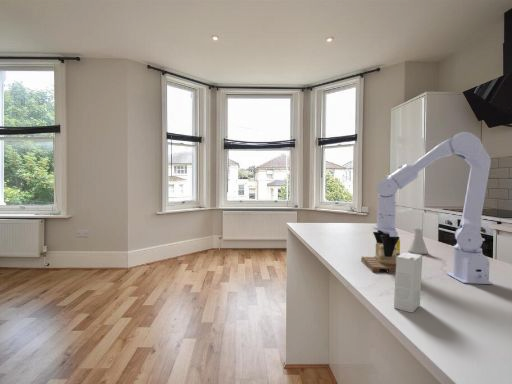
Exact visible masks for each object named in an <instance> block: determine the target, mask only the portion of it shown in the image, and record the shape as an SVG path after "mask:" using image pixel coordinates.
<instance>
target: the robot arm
mask: <svg viewBox="0 0 512 384" xmlns="http://www.w3.org/2000/svg"><path fill="white" fill-rule="evenodd" d="M452 155H454V156H457V157H458V158H461V159H463V161H464V162H465V163H467V164H468V165H469V166H470V168H469V174H468V180H467V184H466V185H467V188H466V193H465V198H464V204H463V210H462V216H461V219H460V223H459V226H458V228H456V230H455V232H454V239H455V240H456V244H454V245H453V255H452V256H453V257H452V272H451V271H447V272H446V275H448V276H450V277H452V278H454V279H456V281H457V280H458V281H459V282H461V283H463V284H483V285H493V282H492V281H490V260H489V258H488V257H487V256H486V255H484V254H483V248H482V245H483V242H484V239H483V237H482V234H481V230H482V221H481V220H482V216H483V209H484V204H485V203H484V202H485V198H486V193H487V186H488V182H489V181H488V180H489V174H490V169H491V163H492V159H491V157H490V156H489V154H488V152H487V150H486V149H485V147H484V145H483V143H482V140H481V139H480V138H479V137H477V136H476V135H475V134H473V133H471V132H469V131H461V132H458V133H456V134H455V135H454V136H453V137H450V138H448V139H446V140H444V141H443V142H440V143H439V144H438V145H436V146H435V147H434V148H432V149H431V150H430V151H428V152H427V153H426V154H425V155H423V156H422V157H420V158H418V160H416V161H415V162H413V163H412V164H407V163H405V164H404V165H399V166H398V167H397V168H398V169H397V170H396V171H394V172H393V173H391V174H390V175H389V174H387V175H386V176H385V177H386V178H382V179H381V180H380V181H379V182H378V184H377V186H376V190H377V194H378V195H377V204H376V205H377V206H376V208H377V209H376V224H375V226H372V227H373V230H374V231H373V232H372V234H373V236H374V239H375V240H376V241H375V242H376V243H383V247H384V255H385V257H392V255H393V251H394V248H395V245H396V243H397V241H398V240H399V238H400V236H399V235H398V236H397V231H398V230H396V229H397V228H396V207H397V205H396V203H397V202H396V193H397V191H398V190H402V189H403V188H405V187H406V186H408V185H409V184H410V183H412V182H413V181H415V180H417V179H418V177H419V172H421V171H423V170H424V169H425V168H427V167H428V166H429V165H431V164H433V163H434V162H436V161H437V160H439V159H441V158H445V157H451V156H452ZM375 230H376V231H375Z"/></svg>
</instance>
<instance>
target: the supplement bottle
mask: <svg viewBox="0 0 512 384" xmlns="http://www.w3.org/2000/svg"><path fill="white" fill-rule="evenodd" d="M396 231H397V236H398V237H399V231H398V230H396ZM395 246H396V258H397V257H398V256H399V255H401V253H400V252H401V250H400V249H401V238H400V237H399V240H398V241H397V243H396V245H395Z"/></svg>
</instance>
